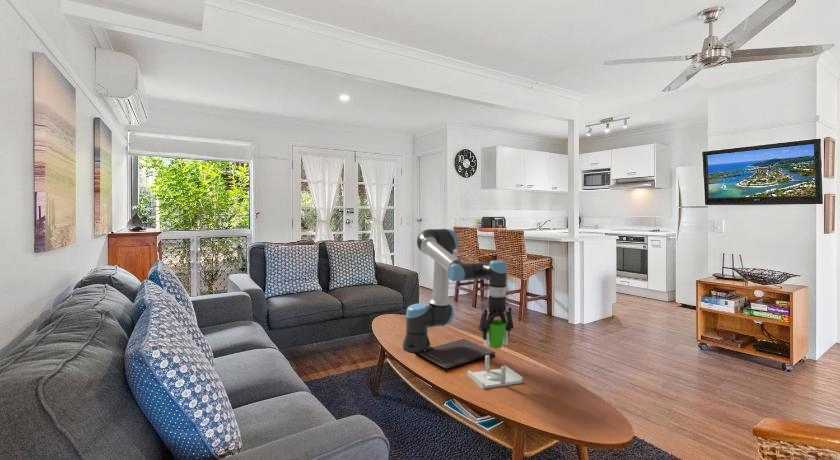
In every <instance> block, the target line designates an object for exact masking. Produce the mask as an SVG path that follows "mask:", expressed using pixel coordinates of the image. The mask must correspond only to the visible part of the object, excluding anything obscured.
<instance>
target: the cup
mask: <svg viewBox="0 0 840 460" xmlns="http://www.w3.org/2000/svg"><path fill="white" fill-rule="evenodd" d="M507 323H508V322H506V323H505V324H504V323H503V322H502V320H501V319H493V321H492V323H491V324H490V327H489V329H488V333H489V346H490V348H492V349H501V348H502V347H503V338H504V333H505V327H506V324H507Z"/></svg>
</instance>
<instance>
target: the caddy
mask: <svg viewBox="0 0 840 460" xmlns="http://www.w3.org/2000/svg"><path fill="white" fill-rule="evenodd" d="M490 358H491V356H490V355H489V354H488V355H487V354H486V355H485V357H484V370H480V371H475V372H474V371H473V372H472V371H471V370H470V369H469V370H467V377H469V379H471V380H472V382H474V383H475V384H476V385H478V386H479V387H480V388H481V389H482V390H484V389H490V388H498V387H504V386H509V385H516V384H522V383H523V381H524V379H523V378H524V377H523V376H522V375H520V374H518V373H517V372H516V371H515V370H513V369H511V368H510V367H508V366H507V365H506V364H505V365H502V366H500V368H497V369H496V368H494V369H490V362H491V360H490Z"/></svg>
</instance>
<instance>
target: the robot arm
mask: <svg viewBox="0 0 840 460" xmlns="http://www.w3.org/2000/svg"><path fill="white" fill-rule="evenodd" d="M458 238H459V237H458V235H457V233H456V231H454V229H451V228H434V229H433V228H427V229H425V230H423V231H421V232H420V233H419V234H418V236H417V238H416V245H417V248H418V250H419V251H420V252H421V253H423V254H424V255H427V256H429V257H430V258H431V259H433V261H434V262H433V281H432V298H431V299H430V300H429V301H428V304H427V303H421V302H420V303H419V302H418V303H414V304H411V305H409V306H408V307H407V308H406V313H405V317H406V319H405V323H406V324H405V330H406V331H405V335H404V339H403V342H402V350H405V351H406V352H409V353H422V352H421V351H424V350H428V349H430V350H431V342H430V338H429V335H428V333H429V332H428V330H429V329H428V328H435V327H444V326H447V325H450V324H452V322H453V319H454V317H455V311H454V307H453V304H451V301H450V300H449V284H450V282H449V281H451V282H462V281H475V280H485V281H486V280H487V281H488V283H489V284H488V295H489V296H488V307H487V308H481V318H480V323H479V326H478V331H480V332H481V333H482V339H483V346H484V347H485V348H488V349H489V346H490V342H489V333H488V329H489V327H490V324H491V323H492V321H493V320H495V318H500V320H502V322H503V323H504V324H505V323H506V322H507V324H506V327H505V333H504V338H503V343H502V345H504V346H508V344H509V343H508V341H509V339H508V338H509V337H510V332H511V331H512V329H514V322H513V317H512V310H513V309H512V307H510V306H508V305H507V306H506V303H507V301H506V300H507V297H506V296H507V278H508V277H507V275H508V274H507V273H508V267H507V266H508V265H507V262H506V261H505V260H499V259H497V260H496V259H495V260H494V259H493V260H490V261H489V263H488V262H485V261H475V262H473V263H472V262H471V263H465V262H463V261H462V260H460V259H458V258H457V257H456V256H455V255H454V251H456V250H457V249H458V247H459V239H458ZM505 315H506V316H505ZM428 351H429V350H428Z"/></svg>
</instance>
